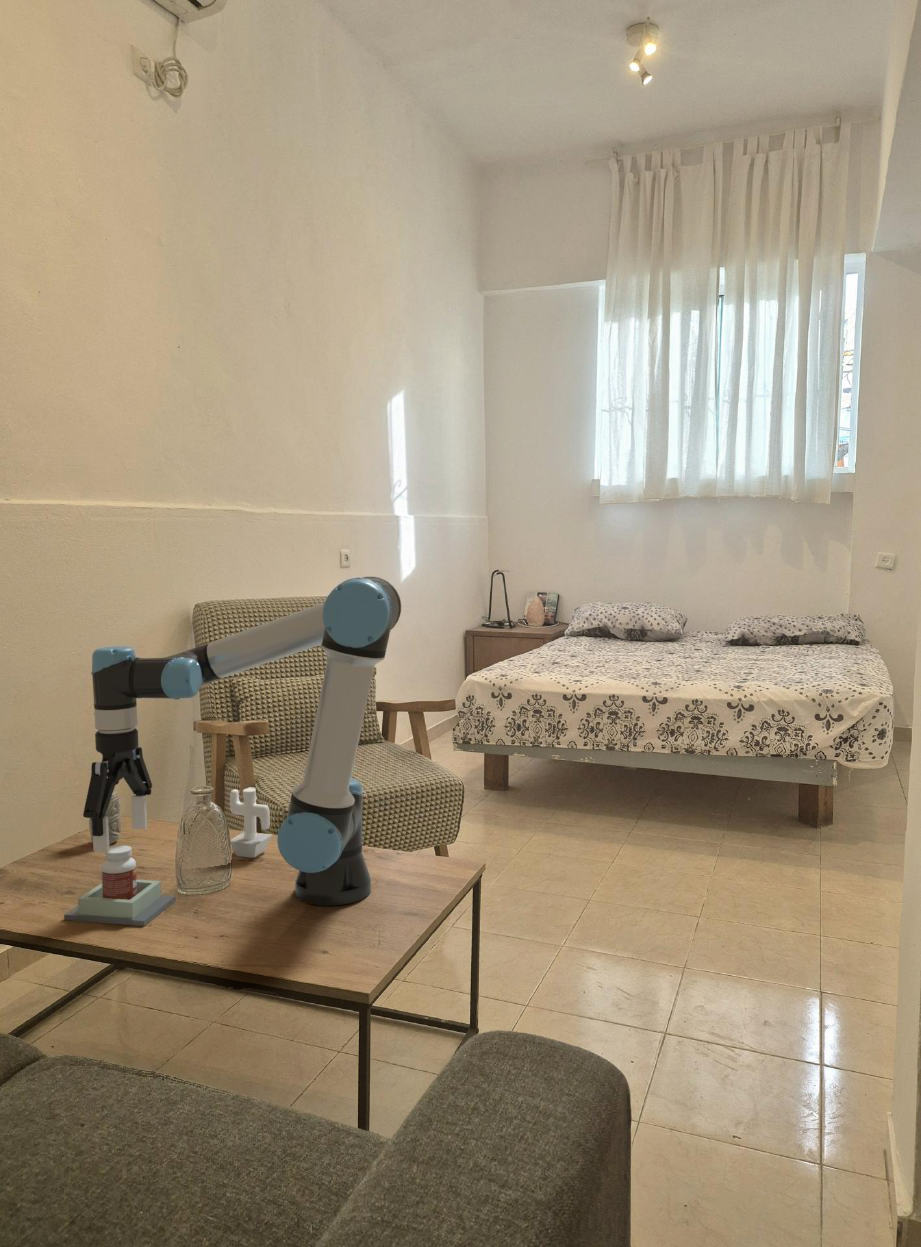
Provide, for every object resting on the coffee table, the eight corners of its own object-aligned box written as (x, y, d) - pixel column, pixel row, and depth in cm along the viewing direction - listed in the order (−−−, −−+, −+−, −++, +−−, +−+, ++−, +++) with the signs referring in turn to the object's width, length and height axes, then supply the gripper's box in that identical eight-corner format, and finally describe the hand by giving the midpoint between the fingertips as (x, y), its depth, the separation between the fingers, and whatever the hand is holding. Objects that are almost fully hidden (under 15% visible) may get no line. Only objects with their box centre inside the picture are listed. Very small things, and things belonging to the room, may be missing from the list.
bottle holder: (175, 900, 176) (175, 881, 175) (144, 926, 164) (143, 905, 164) (100, 895, 178) (99, 875, 178) (64, 919, 167) (63, 899, 166)
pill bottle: (140, 907, 170) (139, 850, 169) (106, 915, 166) (105, 856, 165) (132, 897, 175) (131, 841, 174) (99, 903, 171) (97, 847, 171)
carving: (83, 846, 207) (81, 795, 206) (104, 836, 214) (103, 787, 213) (107, 849, 205) (105, 797, 204) (127, 839, 212) (126, 789, 211)
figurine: (260, 861, 198) (260, 794, 197) (223, 856, 201) (222, 791, 199) (277, 850, 205) (276, 786, 203) (240, 846, 208) (239, 782, 206)
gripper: (132, 716, 181) (136, 819, 183) (58, 743, 156) (64, 861, 158) (167, 717, 180) (171, 820, 182) (97, 744, 155) (103, 863, 157)
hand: (121, 840), depth 170 cm, fingers open, 13 cm apart
